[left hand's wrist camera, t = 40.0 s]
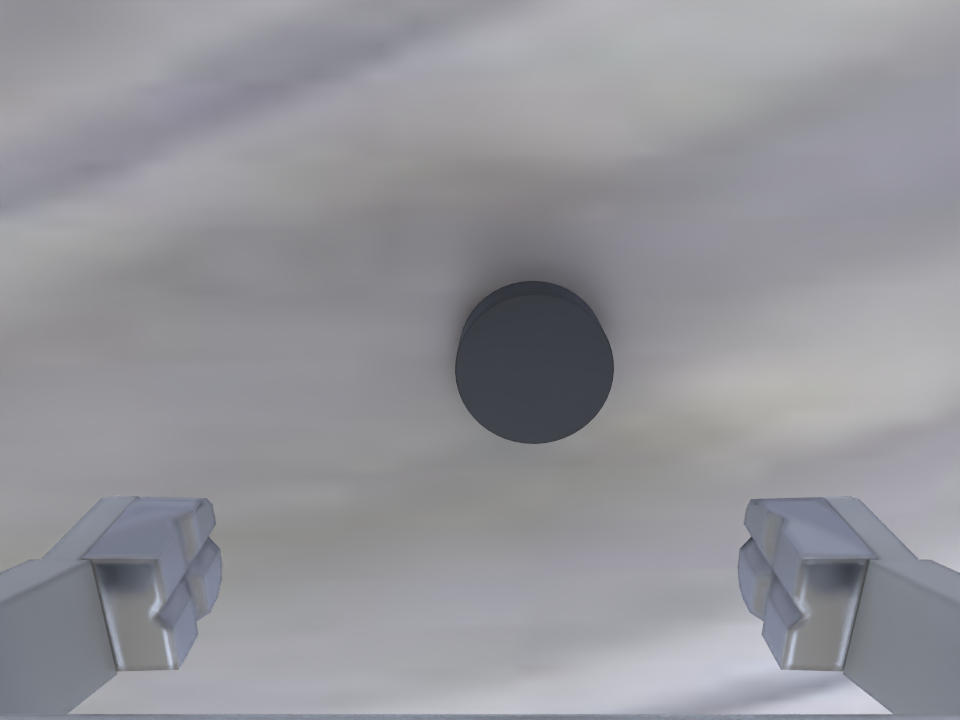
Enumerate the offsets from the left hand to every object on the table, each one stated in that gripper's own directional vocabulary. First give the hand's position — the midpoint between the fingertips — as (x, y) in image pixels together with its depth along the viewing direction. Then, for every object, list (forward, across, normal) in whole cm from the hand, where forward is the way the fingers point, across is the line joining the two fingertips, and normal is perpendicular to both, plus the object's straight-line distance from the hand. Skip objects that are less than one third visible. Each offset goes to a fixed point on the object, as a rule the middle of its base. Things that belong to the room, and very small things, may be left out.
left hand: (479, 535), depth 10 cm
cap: (+10, +2, -1) cm, 10 cm away
